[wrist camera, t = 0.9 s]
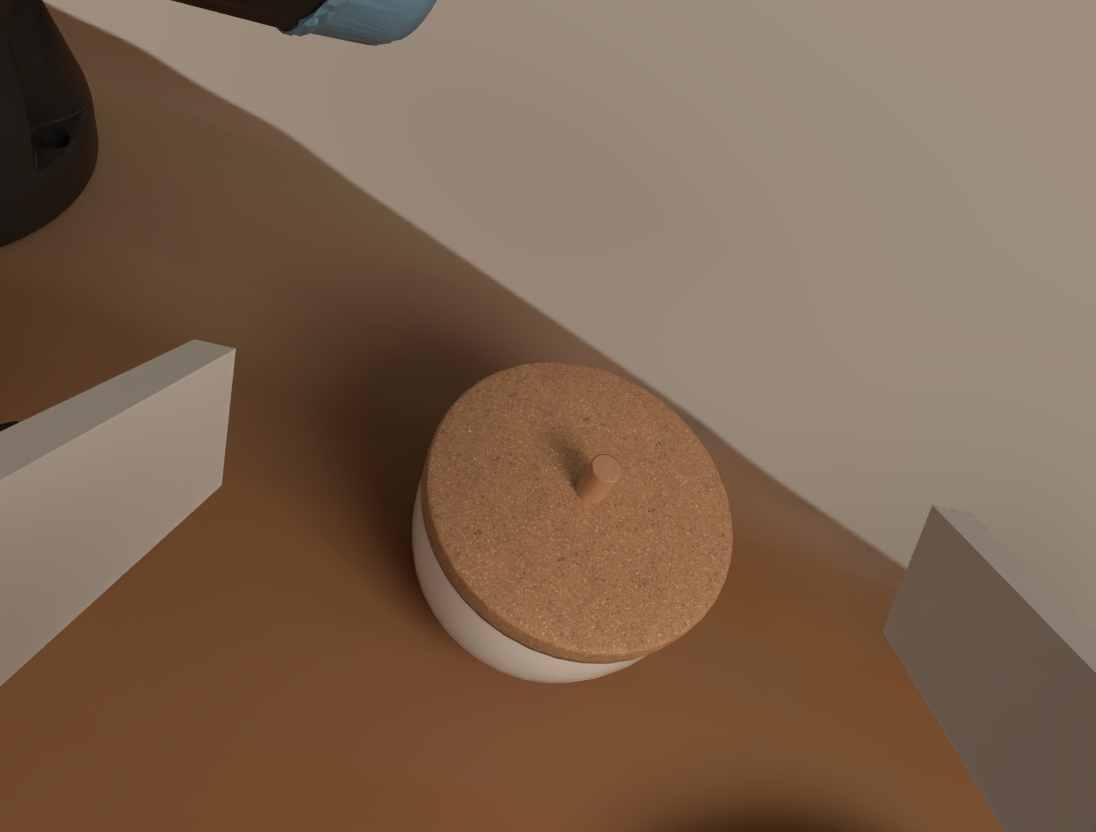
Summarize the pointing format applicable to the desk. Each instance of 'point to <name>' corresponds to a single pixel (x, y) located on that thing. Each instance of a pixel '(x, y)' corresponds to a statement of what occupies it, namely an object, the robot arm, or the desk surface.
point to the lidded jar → (567, 523)
